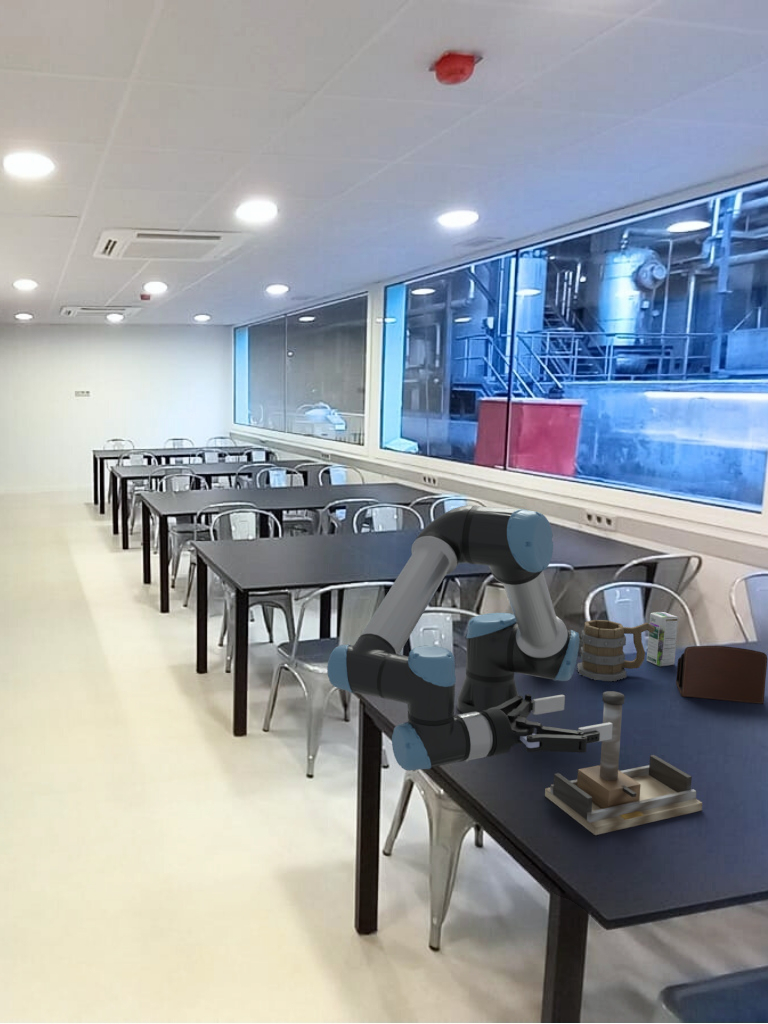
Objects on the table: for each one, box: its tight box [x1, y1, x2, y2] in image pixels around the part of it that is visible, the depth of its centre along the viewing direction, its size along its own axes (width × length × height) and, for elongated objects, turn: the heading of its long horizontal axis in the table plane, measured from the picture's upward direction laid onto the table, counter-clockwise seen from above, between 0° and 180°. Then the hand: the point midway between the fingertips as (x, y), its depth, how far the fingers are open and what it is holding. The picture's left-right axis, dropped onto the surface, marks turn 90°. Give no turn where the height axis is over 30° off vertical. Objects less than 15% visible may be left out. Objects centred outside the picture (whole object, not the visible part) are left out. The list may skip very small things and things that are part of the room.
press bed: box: [544, 754, 703, 836], centre depth 150 cm, size 24×15×6 cm, turn 113°
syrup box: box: [646, 611, 679, 667], centre depth 233 cm, size 6×6×14 cm
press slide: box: [576, 690, 641, 809], centre depth 146 cm, size 7×12×20 cm, turn 23°
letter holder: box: [675, 645, 768, 705], centre depth 208 cm, size 10×20×14 cm, turn 78°
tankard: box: [576, 619, 655, 682], centre depth 222 cm, size 20×13×15 cm, turn 82°
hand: (586, 715), depth 144 cm, fingers open, 13 cm apart
